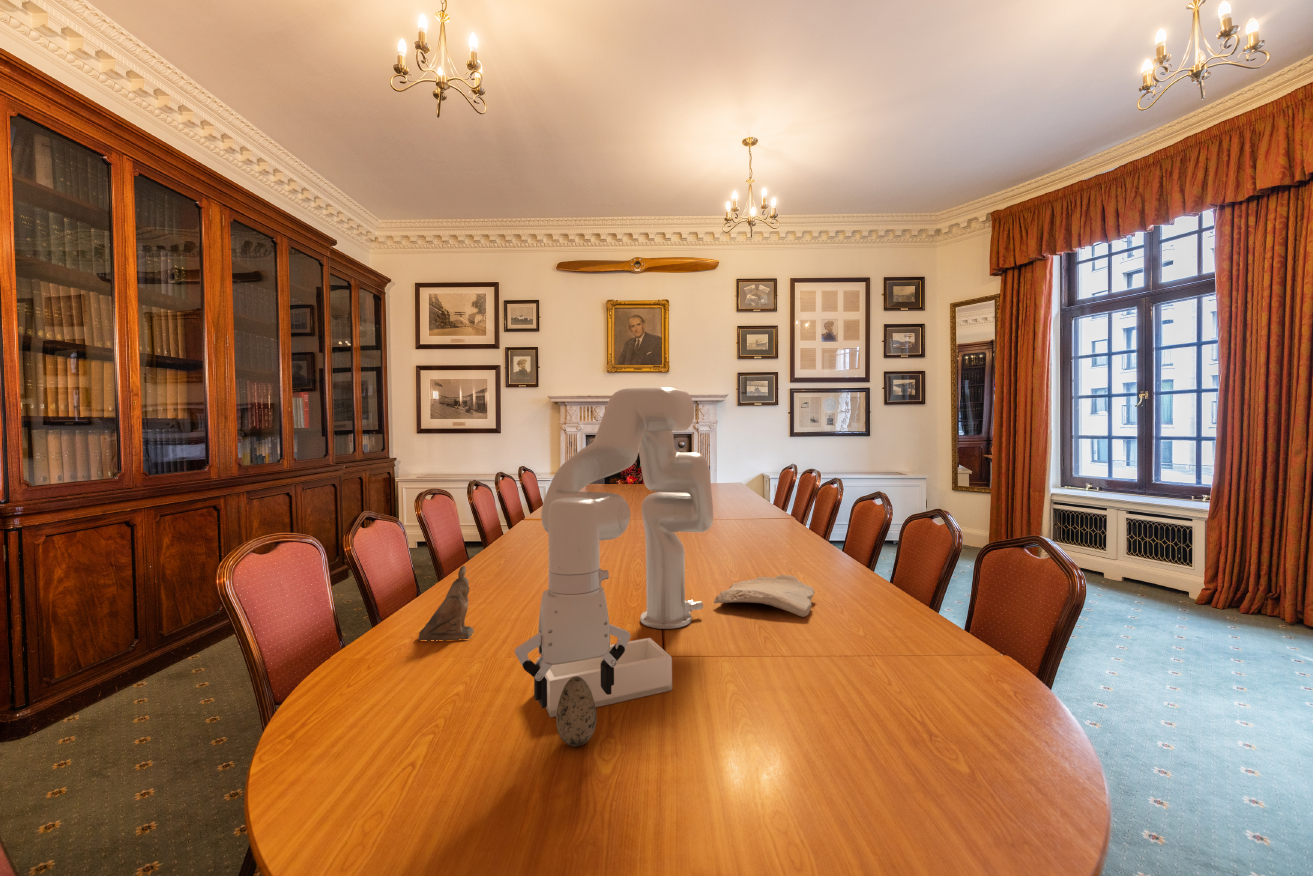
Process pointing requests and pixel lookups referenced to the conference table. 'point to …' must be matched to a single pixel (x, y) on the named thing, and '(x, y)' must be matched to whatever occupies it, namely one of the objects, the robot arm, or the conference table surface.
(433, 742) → the conference table surface
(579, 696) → the decorative egg
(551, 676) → the open rectangular box
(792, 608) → the beige curved fragment
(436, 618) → the brown carved statuette
